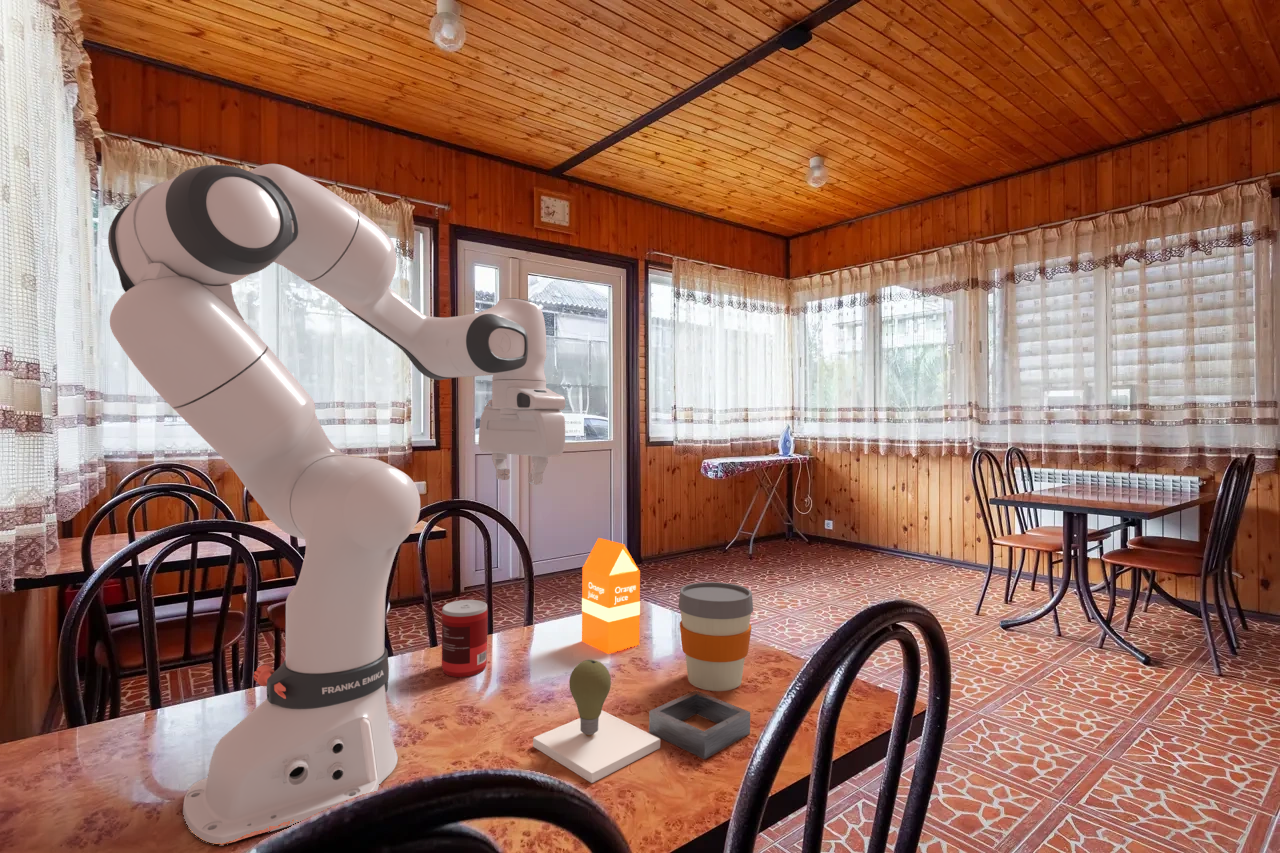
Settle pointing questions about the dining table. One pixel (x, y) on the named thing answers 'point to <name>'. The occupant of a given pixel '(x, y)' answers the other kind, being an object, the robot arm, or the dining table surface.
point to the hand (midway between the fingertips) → (518, 481)
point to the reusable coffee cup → (715, 633)
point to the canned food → (464, 638)
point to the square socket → (692, 739)
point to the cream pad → (596, 746)
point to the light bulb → (590, 692)
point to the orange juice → (610, 598)
